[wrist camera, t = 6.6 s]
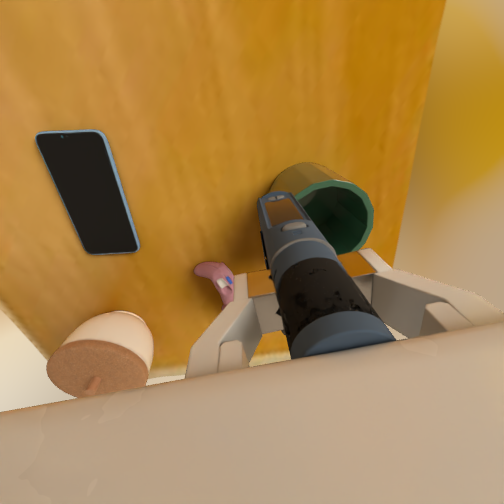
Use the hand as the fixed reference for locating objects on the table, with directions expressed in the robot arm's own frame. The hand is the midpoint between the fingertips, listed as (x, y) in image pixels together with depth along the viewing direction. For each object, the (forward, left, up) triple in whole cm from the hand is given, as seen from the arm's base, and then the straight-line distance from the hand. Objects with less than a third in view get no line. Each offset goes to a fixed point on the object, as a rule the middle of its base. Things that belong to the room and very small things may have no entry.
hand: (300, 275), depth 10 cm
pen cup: (+5, +5, -22) cm, 23 cm away
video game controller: (+15, -8, -22) cm, 28 cm away
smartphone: (-1, -20, -22) cm, 30 cm away
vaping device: (+1, 0, -7) cm, 7 cm away
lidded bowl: (+20, -27, -22) cm, 40 cm away
